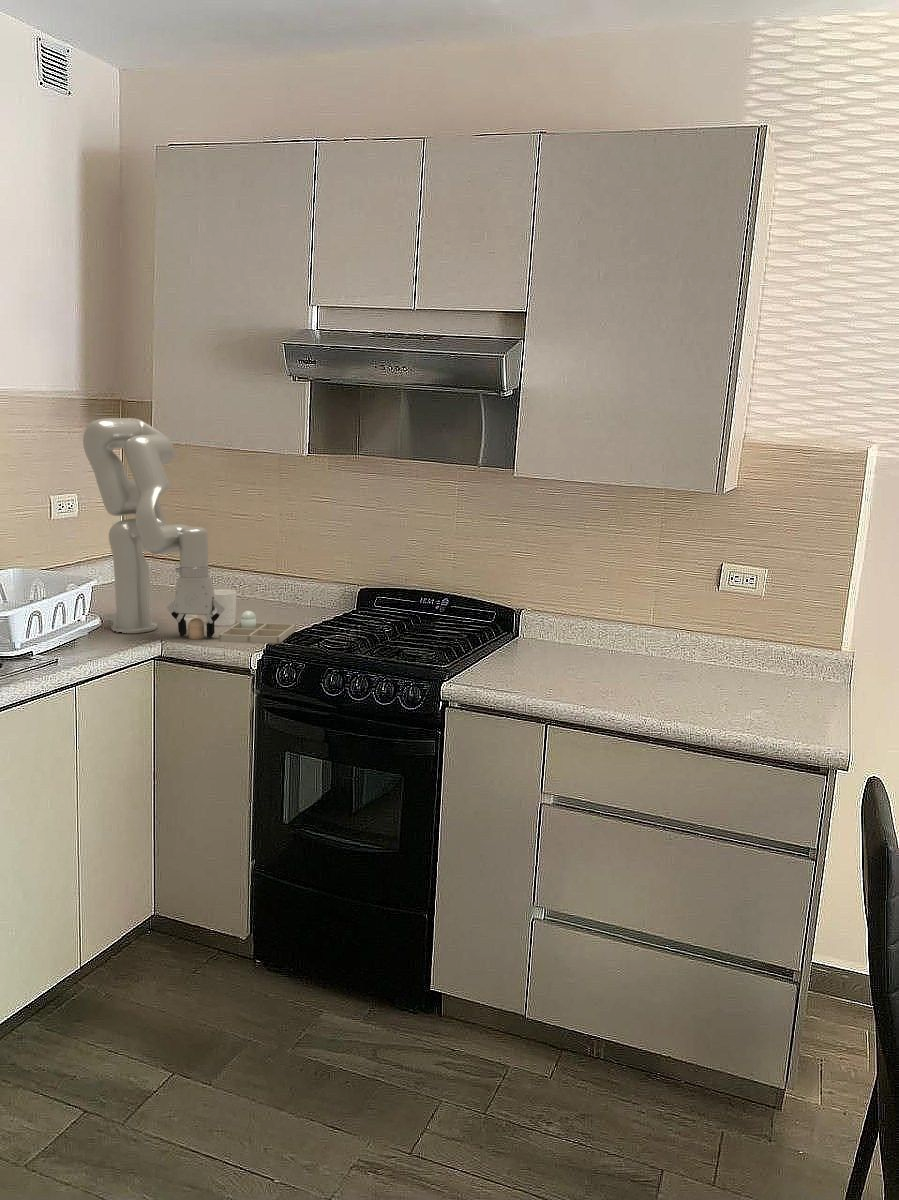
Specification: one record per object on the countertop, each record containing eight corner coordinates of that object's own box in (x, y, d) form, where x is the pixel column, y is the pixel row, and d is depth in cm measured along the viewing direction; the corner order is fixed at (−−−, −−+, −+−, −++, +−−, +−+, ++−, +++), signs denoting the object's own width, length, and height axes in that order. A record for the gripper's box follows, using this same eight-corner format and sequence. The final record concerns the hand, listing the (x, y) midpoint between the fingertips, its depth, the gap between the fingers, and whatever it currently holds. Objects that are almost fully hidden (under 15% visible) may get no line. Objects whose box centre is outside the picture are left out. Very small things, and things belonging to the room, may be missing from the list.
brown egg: (186, 640, 289) (185, 619, 288) (192, 637, 293) (191, 616, 292) (201, 641, 289) (200, 619, 288) (206, 638, 293) (206, 616, 292)
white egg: (180, 631, 301) (179, 610, 300) (186, 628, 305) (185, 607, 304) (194, 632, 300) (194, 611, 299) (200, 628, 304) (199, 608, 303)
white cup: (222, 629, 304) (221, 595, 302) (204, 625, 309) (202, 592, 307) (242, 625, 310) (241, 591, 308) (224, 621, 315) (223, 588, 313)
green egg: (239, 633, 297) (238, 612, 295) (244, 630, 301) (243, 609, 299) (253, 633, 296) (253, 612, 295) (258, 630, 300) (257, 609, 299)
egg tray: (219, 643, 287) (218, 634, 286) (239, 630, 303) (238, 621, 303) (279, 645, 285) (278, 637, 284) (295, 632, 301) (295, 624, 301)
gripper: (158, 573, 285) (161, 637, 288) (220, 575, 283) (222, 640, 286) (169, 569, 292) (171, 631, 296) (229, 571, 290) (231, 634, 294)
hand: (196, 635), depth 291 cm, fingers open, 7 cm apart
